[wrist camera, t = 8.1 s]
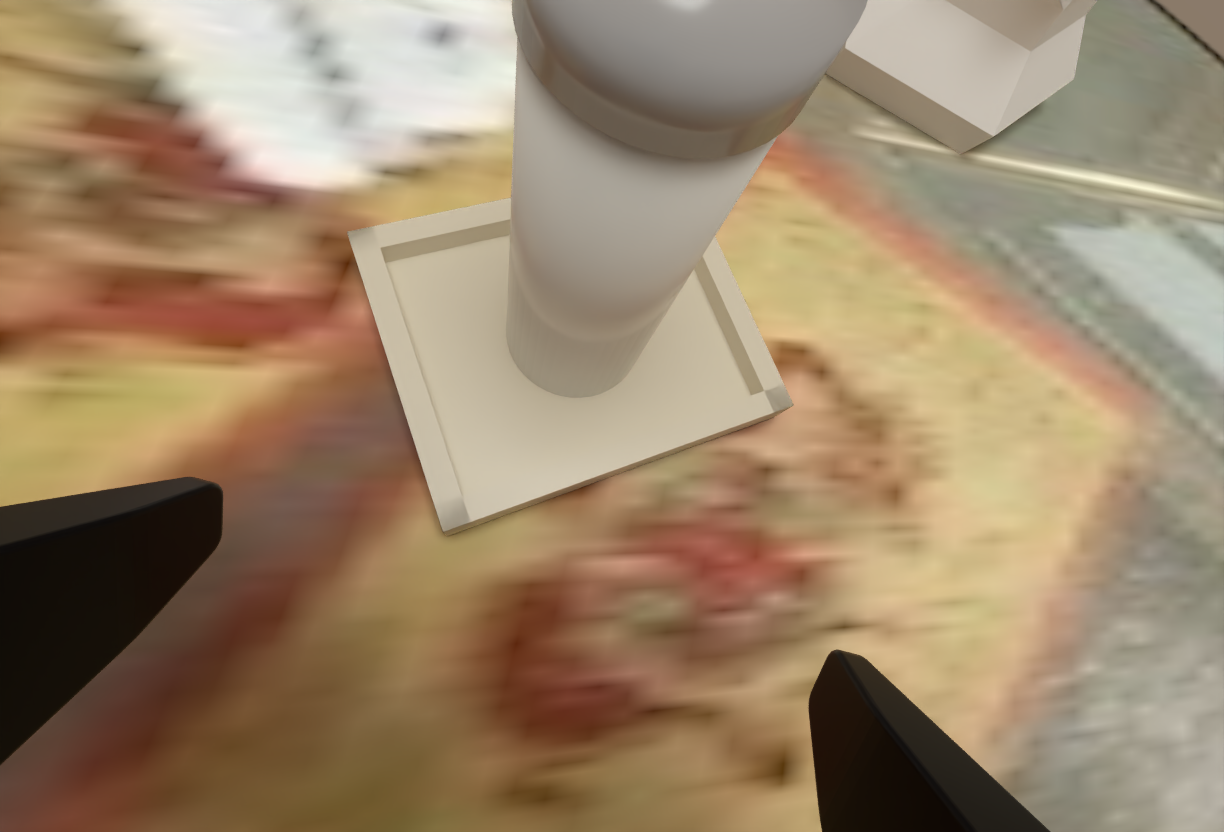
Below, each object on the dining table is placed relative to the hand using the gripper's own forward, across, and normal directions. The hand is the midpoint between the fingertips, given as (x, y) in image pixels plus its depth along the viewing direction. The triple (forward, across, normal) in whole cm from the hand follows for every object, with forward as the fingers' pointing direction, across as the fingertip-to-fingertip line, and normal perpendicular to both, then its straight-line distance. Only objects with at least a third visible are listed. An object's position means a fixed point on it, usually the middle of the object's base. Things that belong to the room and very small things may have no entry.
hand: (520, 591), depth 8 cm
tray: (+13, +2, -1) cm, 13 cm away
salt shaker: (+12, +1, -1) cm, 13 cm away
